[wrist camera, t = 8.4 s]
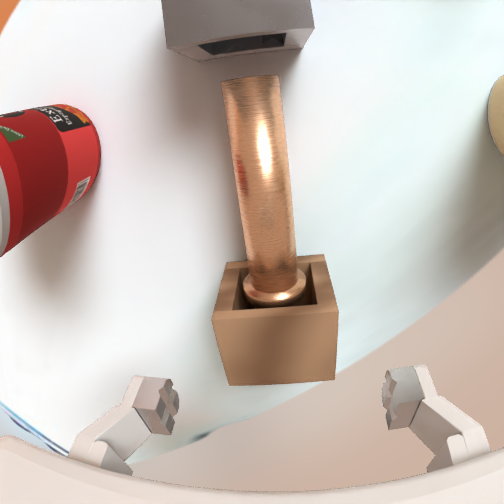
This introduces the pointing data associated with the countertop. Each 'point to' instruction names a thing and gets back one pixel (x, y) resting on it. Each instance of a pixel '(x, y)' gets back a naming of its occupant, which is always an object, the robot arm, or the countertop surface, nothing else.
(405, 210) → the countertop surface
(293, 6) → the sleeve
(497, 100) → the coffee cup
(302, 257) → the socket
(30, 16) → the countertop surface
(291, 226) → the tube
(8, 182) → the canned food
